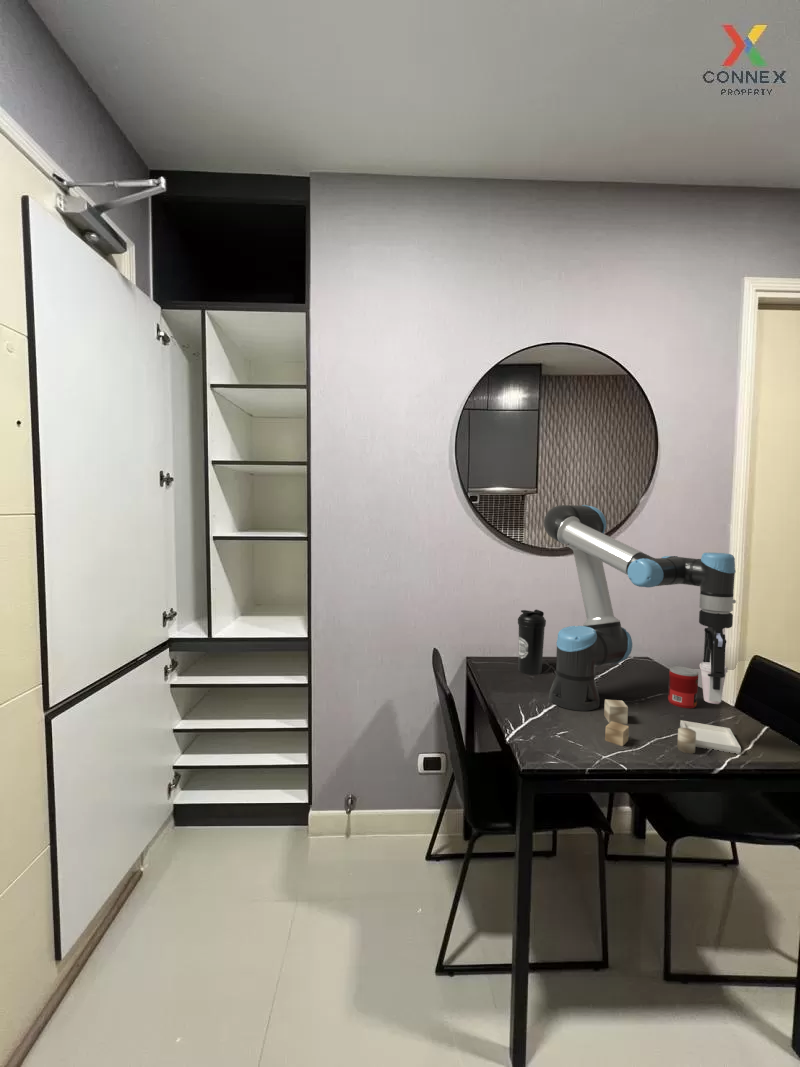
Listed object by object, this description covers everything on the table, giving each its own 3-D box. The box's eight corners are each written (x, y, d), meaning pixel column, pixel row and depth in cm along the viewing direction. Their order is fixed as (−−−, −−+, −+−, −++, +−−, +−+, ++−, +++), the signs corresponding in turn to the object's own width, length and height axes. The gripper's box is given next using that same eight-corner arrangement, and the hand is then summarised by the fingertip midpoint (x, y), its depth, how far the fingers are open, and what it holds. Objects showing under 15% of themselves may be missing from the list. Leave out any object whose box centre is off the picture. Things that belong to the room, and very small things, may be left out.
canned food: (700, 709, 152) (702, 675, 152) (672, 707, 154) (674, 672, 153) (691, 700, 160) (693, 667, 159) (664, 698, 161) (666, 665, 161)
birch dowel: (678, 751, 126) (679, 732, 125) (676, 744, 129) (677, 726, 129) (696, 755, 124) (697, 735, 124) (693, 748, 128) (694, 729, 128)
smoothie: (700, 694, 136) (702, 645, 136) (727, 700, 132) (730, 649, 131) (696, 701, 131) (698, 650, 131) (724, 708, 127) (727, 654, 126)
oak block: (604, 740, 131) (605, 726, 131) (611, 735, 134) (611, 721, 134) (622, 746, 128) (623, 731, 128) (628, 740, 131) (628, 726, 131)
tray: (686, 744, 129) (686, 738, 129) (679, 726, 140) (680, 720, 140) (740, 754, 125) (740, 747, 125) (729, 734, 136) (729, 728, 136)
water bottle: (511, 667, 189) (513, 608, 188) (534, 665, 192) (536, 607, 191) (525, 676, 179) (527, 614, 178) (549, 674, 182) (551, 612, 181)
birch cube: (609, 723, 142) (609, 706, 142) (604, 715, 147) (604, 699, 147) (627, 724, 141) (627, 707, 141) (621, 716, 146) (622, 700, 146)
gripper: (742, 619, 120) (737, 711, 121) (724, 605, 138) (720, 686, 139) (706, 616, 123) (702, 706, 124) (693, 603, 141) (690, 682, 142)
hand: (712, 696), depth 132 cm, fingers closed on smoothie, 6 cm apart
